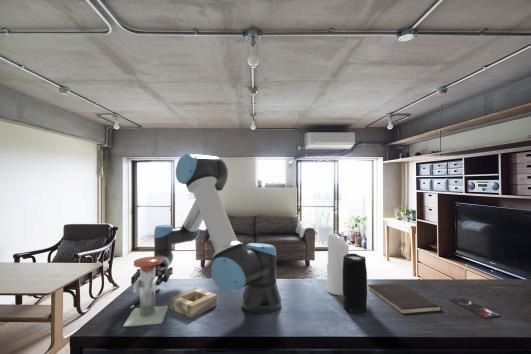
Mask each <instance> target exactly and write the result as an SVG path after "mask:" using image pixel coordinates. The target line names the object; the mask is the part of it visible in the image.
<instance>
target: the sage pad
mask: <svg viewBox="0 0 531 354" xmlns="http://www.w3.org/2000/svg"><path fill="white" fill-rule="evenodd" d="M168 309H169V305H161V306H160V305H157V306H156V305H155V312H154V313H153V314H150V315H140V307H135V308H134V307H133V310H132V311H131V312H130V314H129V316H128V318H127V319H125V322H124V324H123V328H125V327H135V326H136V327H137V326H138V327H139V326H146V325H149V326H150V325H158V324H160V325H161V324H163V322H164V319H165V317H166V315H167V311H168Z"/></svg>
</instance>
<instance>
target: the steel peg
mask: <svg viewBox="0 0 531 354" xmlns="http://www.w3.org/2000/svg"><path fill="white" fill-rule="evenodd" d="M161 262H162V258H160V257H154V256H146V257H140V258H139V257H138V258H137V259H134V260H133V267H135V268H139V269H140V288H139V301H140V303H139V308H140V315H150V314H153V313H154V312H155V307H156V293H155V290H156V289H155V290H154V291H152V282H153V280H154V279H155V273H156V265H159V264H161Z"/></svg>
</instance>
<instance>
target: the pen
mask: <svg viewBox="0 0 531 354" xmlns="http://www.w3.org/2000/svg"><path fill="white" fill-rule="evenodd" d="M160 289H161V288H160V287H159V288H156V289H155V294H157V293H158V292H159V290H160ZM160 291H161V290H160ZM137 305H140V300H138V301H137V302H136V303H133V304H132V305H131V306H130V309H132V308H134V307H136V306H137Z"/></svg>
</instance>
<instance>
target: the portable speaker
mask: <svg viewBox="0 0 531 354" xmlns="http://www.w3.org/2000/svg"><path fill="white" fill-rule="evenodd" d="M366 261H367V260H366V256H362V255H359V254H357V253H349V254H347V255H345V256H344V258H343V295H342V298H343V307H344V309H347V310H348V312H349V313H350V314H353V315H362V313H363V312H365V311H366V309H367V304H368V303H367V301H368V272H367V264H366V263H367V262H366Z"/></svg>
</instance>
